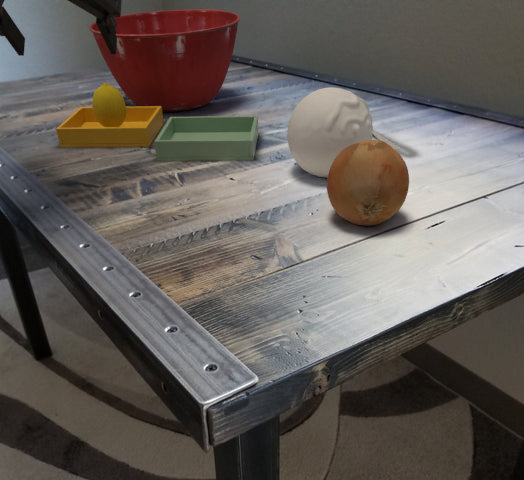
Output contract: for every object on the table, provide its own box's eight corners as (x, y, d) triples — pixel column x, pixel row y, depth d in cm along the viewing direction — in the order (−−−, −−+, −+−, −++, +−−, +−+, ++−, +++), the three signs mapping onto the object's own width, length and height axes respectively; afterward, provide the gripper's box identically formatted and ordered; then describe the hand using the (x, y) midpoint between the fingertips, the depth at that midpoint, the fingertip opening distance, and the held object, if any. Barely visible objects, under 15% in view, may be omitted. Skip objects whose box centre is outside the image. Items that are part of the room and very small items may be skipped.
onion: (390, 203, 77) (399, 125, 71) (415, 236, 69) (427, 152, 63) (318, 208, 76) (321, 130, 70) (335, 242, 68) (339, 158, 62)
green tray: (157, 163, 92) (154, 141, 89) (172, 137, 102) (169, 116, 100) (253, 162, 91) (252, 140, 89) (258, 136, 101) (257, 115, 99)
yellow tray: (60, 150, 98) (55, 128, 96) (84, 126, 109) (80, 107, 107) (149, 149, 97) (146, 127, 95) (164, 125, 108) (161, 106, 106)
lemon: (135, 131, 102) (127, 82, 97) (107, 138, 99) (98, 88, 94) (119, 125, 105) (111, 77, 101) (92, 131, 103) (82, 83, 98)
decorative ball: (335, 197, 79) (340, 105, 72) (270, 177, 86) (269, 91, 78) (385, 172, 86) (393, 86, 79) (321, 155, 92) (324, 74, 85)
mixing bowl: (122, 134, 104) (106, 37, 95) (92, 98, 125) (76, 16, 116) (265, 112, 113) (263, 22, 104) (214, 82, 134) (209, 4, 125)
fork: (401, 159, 90) (402, 148, 89) (330, 119, 108) (331, 109, 107) (418, 156, 91) (420, 145, 90) (346, 117, 109) (346, 107, 108)
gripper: (-121, -48, 63) (-18, 71, 84) (104, -53, 62) (151, 69, 83) (-114, -109, 64) (-14, 24, 85) (108, -115, 63) (154, 21, 84)
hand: (68, 46), depth 84 cm, fingers open, 13 cm apart
